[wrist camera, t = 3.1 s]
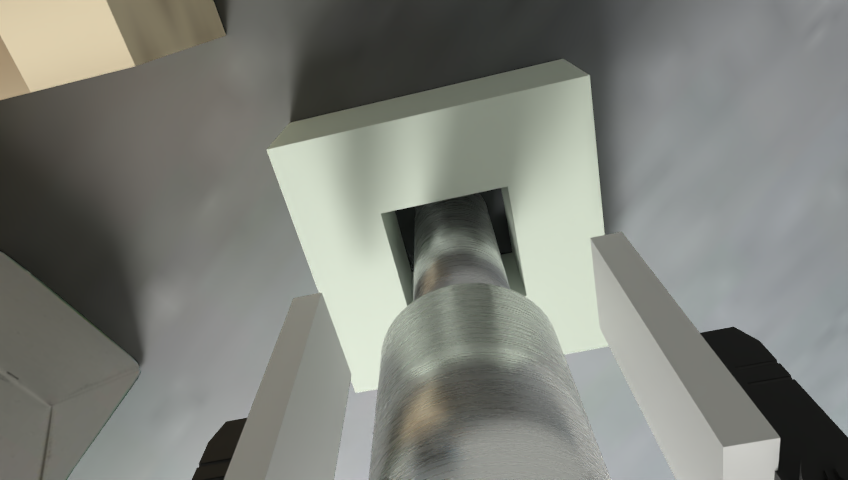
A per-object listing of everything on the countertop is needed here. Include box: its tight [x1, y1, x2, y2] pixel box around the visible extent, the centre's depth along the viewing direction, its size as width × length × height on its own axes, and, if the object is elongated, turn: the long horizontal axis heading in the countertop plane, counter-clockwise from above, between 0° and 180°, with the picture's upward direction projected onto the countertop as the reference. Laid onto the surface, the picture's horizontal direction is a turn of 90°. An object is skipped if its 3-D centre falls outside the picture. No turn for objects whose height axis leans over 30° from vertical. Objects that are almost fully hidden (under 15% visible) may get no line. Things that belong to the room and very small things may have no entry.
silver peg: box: [369, 193, 611, 480], centre depth 13 cm, size 4×4×14 cm
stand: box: [267, 59, 609, 393], centre depth 18 cm, size 9×9×3 cm
